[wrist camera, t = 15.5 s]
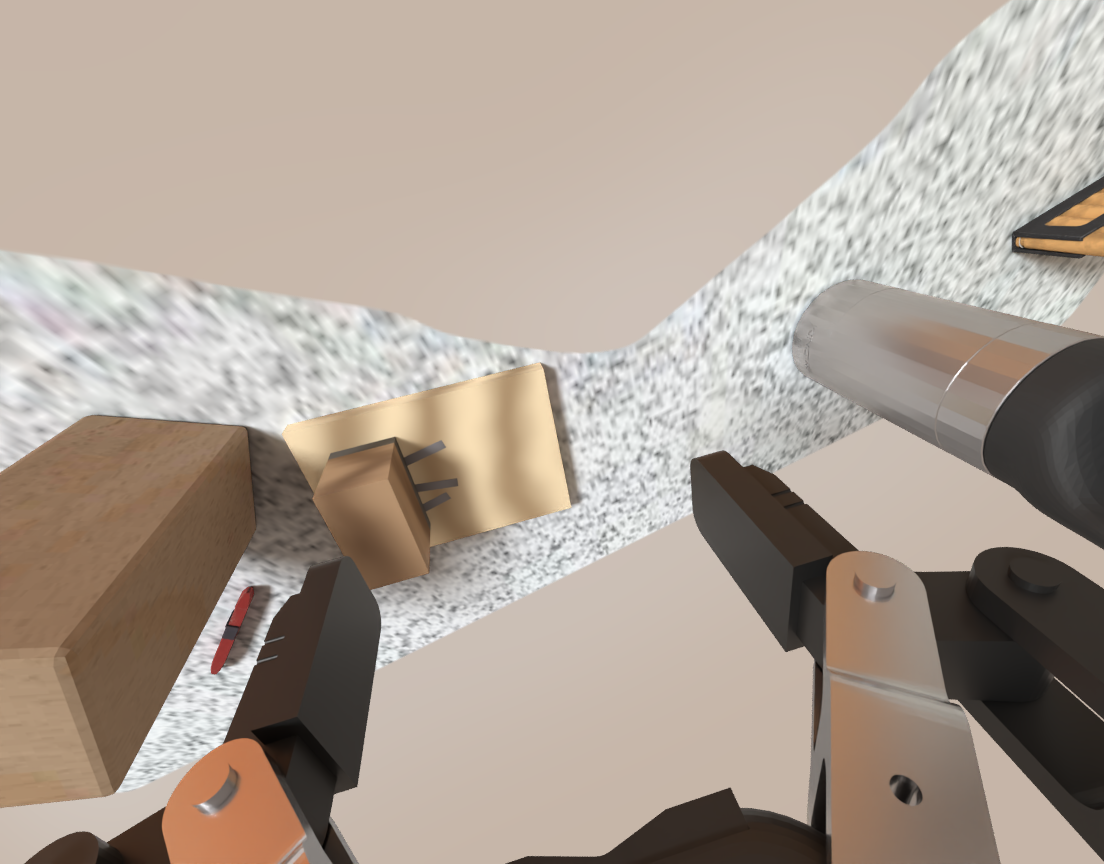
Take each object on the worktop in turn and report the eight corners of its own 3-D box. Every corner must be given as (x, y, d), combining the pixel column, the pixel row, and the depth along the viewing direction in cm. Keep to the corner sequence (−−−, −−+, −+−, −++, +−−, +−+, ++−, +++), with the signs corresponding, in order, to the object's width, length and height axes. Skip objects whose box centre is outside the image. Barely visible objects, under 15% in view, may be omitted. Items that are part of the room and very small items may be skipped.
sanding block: (395, 436, 36) (387, 478, 31) (430, 523, 41) (429, 573, 36) (330, 453, 36) (312, 498, 31) (373, 539, 40) (363, 591, 35)
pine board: (539, 362, 38) (543, 369, 36) (567, 498, 45) (571, 507, 43) (287, 425, 36) (281, 434, 34) (357, 556, 43) (354, 568, 41)
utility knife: (246, 578, 42) (238, 595, 40) (259, 581, 42) (252, 598, 40) (210, 664, 45) (201, 683, 44) (223, 666, 46) (214, 685, 44)
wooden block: (258, 529, 39) (117, 800, 22) (114, 526, 37) (-174, 832, 20) (249, 424, 35) (66, 657, 18) (85, 411, 32) (-316, 672, 15)
